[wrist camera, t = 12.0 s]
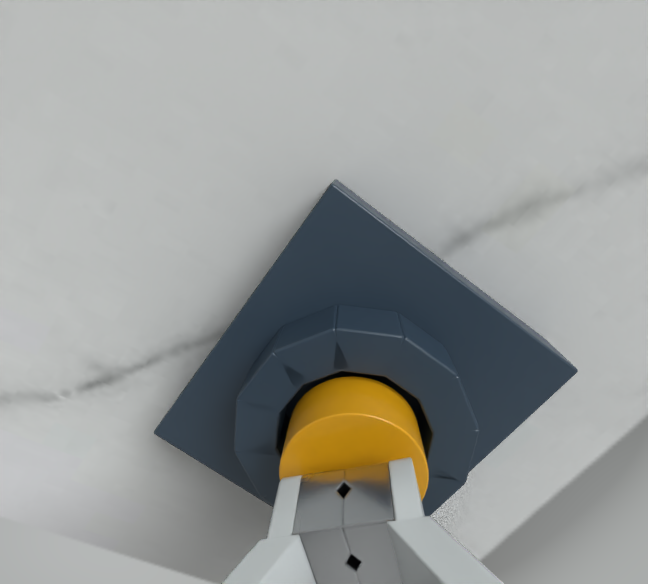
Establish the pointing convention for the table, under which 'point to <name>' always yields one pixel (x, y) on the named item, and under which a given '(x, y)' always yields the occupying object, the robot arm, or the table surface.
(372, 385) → the trigger button
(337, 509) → the robot arm
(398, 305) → the button housing
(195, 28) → the table surface
